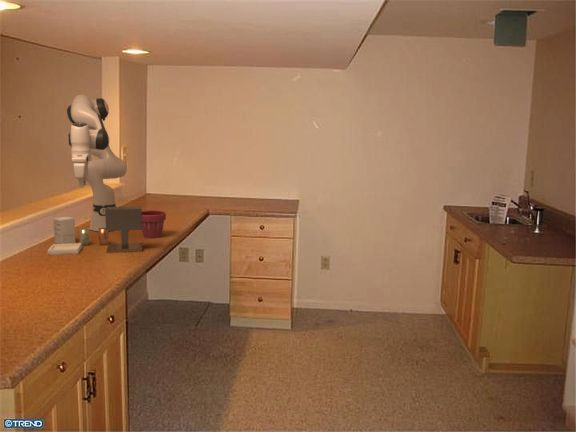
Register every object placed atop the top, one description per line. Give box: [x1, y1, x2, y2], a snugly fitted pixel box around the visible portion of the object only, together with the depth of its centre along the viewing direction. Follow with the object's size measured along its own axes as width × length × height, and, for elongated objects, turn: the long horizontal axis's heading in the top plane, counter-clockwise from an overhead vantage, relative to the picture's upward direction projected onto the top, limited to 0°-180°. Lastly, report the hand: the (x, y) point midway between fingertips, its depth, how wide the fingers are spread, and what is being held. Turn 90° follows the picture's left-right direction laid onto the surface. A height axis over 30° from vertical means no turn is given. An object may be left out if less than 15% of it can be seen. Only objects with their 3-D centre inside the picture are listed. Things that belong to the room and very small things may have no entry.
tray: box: [47, 242, 83, 256], centre depth 267 cm, size 13×13×2 cm
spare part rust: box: [97, 228, 110, 247], centre depth 281 cm, size 4×4×8 cm
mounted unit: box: [105, 205, 144, 254], centre depth 271 cm, size 12×16×20 cm
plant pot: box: [141, 210, 167, 239], centre depth 300 cm, size 14×14×13 cm
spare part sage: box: [78, 227, 90, 247], centre depth 279 cm, size 4×4×8 cm
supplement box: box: [53, 216, 77, 244], centre depth 282 cm, size 7×7×13 cm
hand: (82, 186), depth 275 cm, fingers open, 8 cm apart
